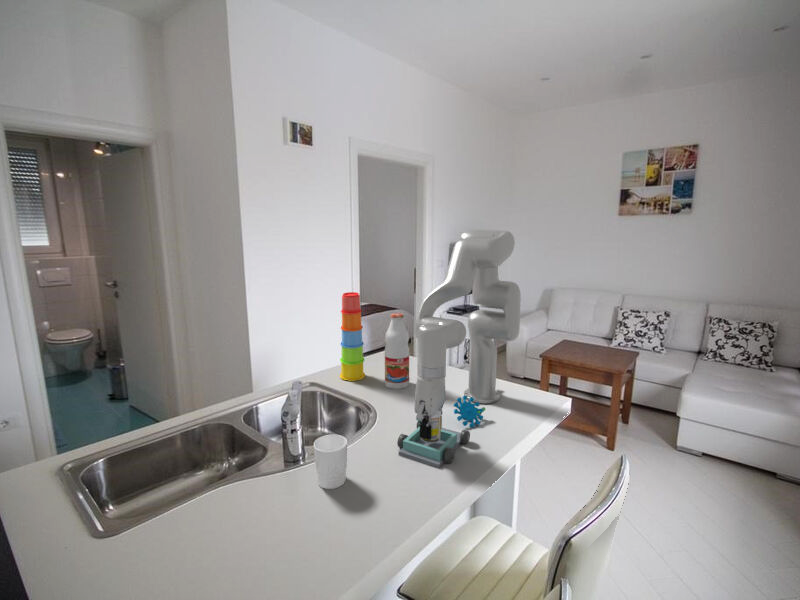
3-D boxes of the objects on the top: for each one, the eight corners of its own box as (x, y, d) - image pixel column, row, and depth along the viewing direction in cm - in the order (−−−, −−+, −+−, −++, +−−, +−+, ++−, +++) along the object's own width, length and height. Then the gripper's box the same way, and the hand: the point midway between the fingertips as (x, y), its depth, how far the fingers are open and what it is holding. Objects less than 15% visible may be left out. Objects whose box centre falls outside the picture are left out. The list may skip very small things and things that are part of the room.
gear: (459, 426, 123) (452, 394, 128) (450, 432, 127) (444, 402, 133) (490, 425, 127) (482, 394, 132) (481, 431, 131) (474, 401, 137)
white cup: (320, 495, 94) (319, 455, 92) (311, 476, 101) (309, 439, 99) (353, 485, 98) (352, 446, 96) (341, 467, 104) (340, 431, 103)
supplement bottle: (428, 432, 117) (428, 398, 115) (444, 438, 113) (445, 403, 111) (416, 439, 113) (416, 404, 111) (432, 446, 109) (433, 410, 107)
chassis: (423, 425, 126) (424, 414, 126) (471, 438, 119) (471, 427, 118) (393, 453, 111) (393, 440, 111) (445, 470, 103) (445, 457, 103)
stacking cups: (370, 375, 169) (369, 292, 163) (354, 383, 160) (353, 295, 154) (350, 370, 174) (348, 290, 168) (334, 378, 166) (332, 293, 159)
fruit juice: (406, 379, 164) (406, 311, 159) (411, 388, 155) (411, 316, 150) (383, 381, 163) (382, 311, 158) (386, 390, 154) (386, 317, 149)
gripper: (433, 359, 118) (432, 417, 122) (403, 378, 104) (403, 443, 107) (457, 363, 115) (456, 423, 118) (429, 383, 100) (428, 451, 103)
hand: (430, 432), depth 113 cm, fingers closed on supplement bottle, 5 cm apart
